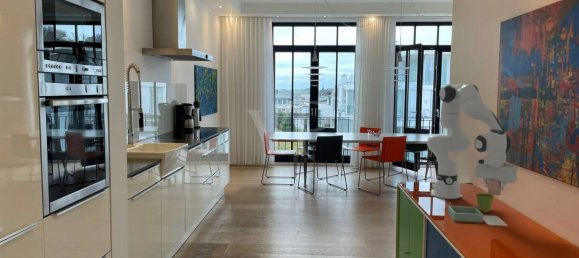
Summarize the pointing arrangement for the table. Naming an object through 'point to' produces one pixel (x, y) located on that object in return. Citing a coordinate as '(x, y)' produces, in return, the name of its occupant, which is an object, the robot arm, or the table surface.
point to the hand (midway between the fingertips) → (494, 188)
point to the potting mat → (493, 220)
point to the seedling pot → (494, 187)
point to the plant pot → (484, 201)
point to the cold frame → (465, 214)
